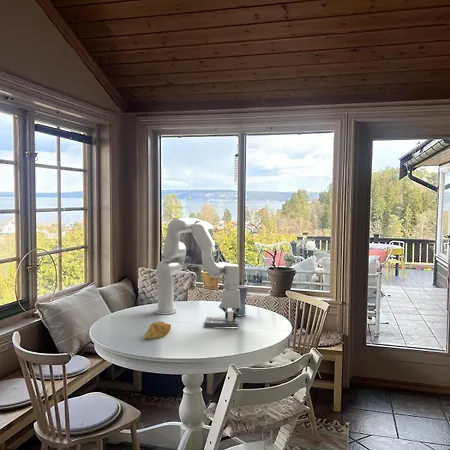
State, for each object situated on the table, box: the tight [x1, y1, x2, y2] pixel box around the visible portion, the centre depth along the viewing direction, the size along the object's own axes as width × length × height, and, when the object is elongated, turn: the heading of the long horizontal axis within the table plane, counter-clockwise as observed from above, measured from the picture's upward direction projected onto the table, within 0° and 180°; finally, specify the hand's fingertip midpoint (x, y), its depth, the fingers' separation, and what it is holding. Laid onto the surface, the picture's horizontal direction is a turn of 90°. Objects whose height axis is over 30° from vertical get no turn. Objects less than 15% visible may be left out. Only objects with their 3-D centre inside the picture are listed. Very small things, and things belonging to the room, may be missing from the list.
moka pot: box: [231, 281, 249, 315], centre depth 275 cm, size 10×15×20 cm, turn 148°
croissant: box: [143, 321, 172, 340], centre depth 232 cm, size 21×10×8 cm, turn 154°
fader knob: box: [227, 309, 234, 321], centre depth 253 cm, size 4×3×7 cm
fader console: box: [203, 316, 240, 328], centre depth 253 cm, size 12×18×3 cm, turn 86°
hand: (230, 319), depth 253 cm, fingers closed on fader knob, 3 cm apart
